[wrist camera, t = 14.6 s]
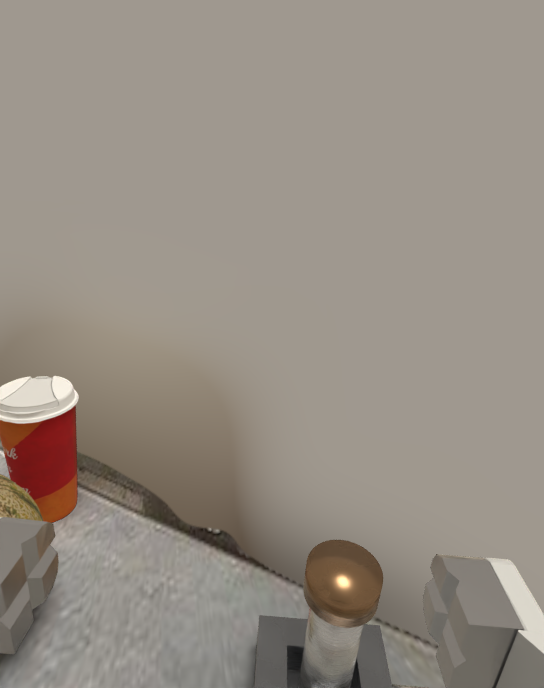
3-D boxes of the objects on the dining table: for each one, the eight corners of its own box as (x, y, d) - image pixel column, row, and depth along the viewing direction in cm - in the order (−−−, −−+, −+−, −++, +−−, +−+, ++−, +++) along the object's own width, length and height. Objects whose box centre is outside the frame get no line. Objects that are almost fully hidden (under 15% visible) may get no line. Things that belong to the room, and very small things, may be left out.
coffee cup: (20, 485, 54) (3, 373, 49) (92, 479, 56) (83, 372, 51) (-3, 537, 47) (-27, 412, 41) (81, 529, 48) (69, 408, 43)
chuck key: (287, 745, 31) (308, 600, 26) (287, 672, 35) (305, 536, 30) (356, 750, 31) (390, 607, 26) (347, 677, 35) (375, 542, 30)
